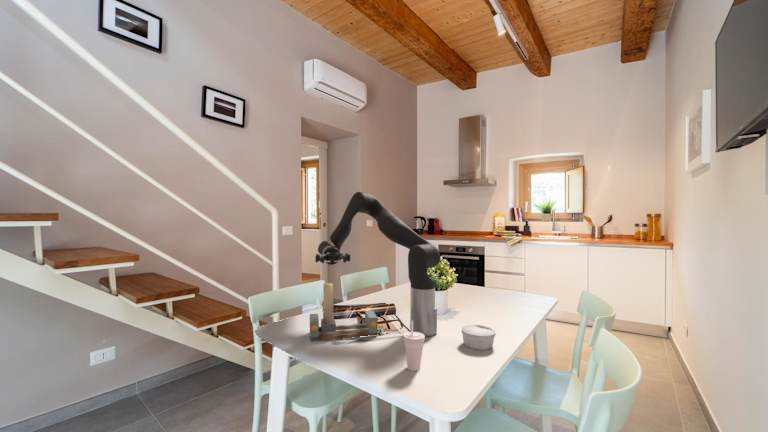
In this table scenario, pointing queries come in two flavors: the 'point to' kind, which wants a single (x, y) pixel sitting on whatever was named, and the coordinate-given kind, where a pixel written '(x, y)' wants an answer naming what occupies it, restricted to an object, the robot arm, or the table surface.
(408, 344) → the smoothie
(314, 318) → the pair of sage blocks
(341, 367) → the table surface
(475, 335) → the ramekin
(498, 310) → the table surface
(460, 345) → the table surface
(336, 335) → the rail bed
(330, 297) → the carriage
